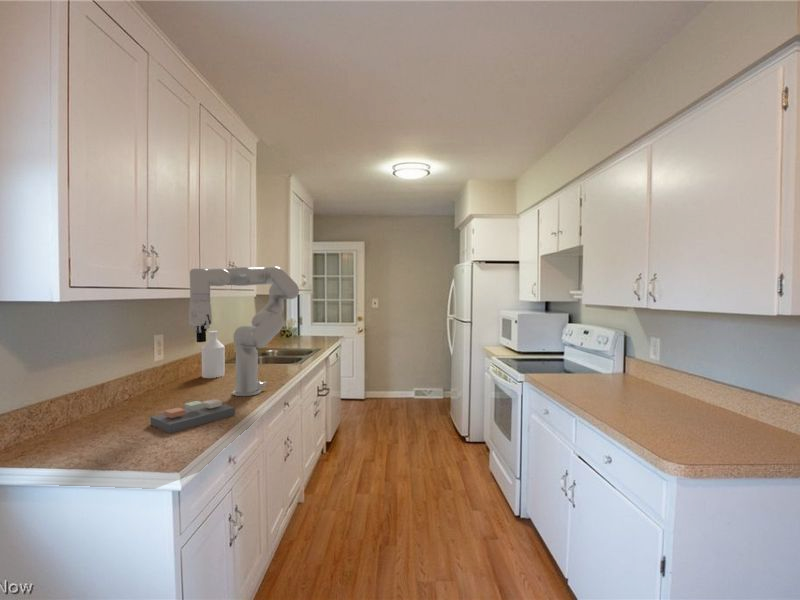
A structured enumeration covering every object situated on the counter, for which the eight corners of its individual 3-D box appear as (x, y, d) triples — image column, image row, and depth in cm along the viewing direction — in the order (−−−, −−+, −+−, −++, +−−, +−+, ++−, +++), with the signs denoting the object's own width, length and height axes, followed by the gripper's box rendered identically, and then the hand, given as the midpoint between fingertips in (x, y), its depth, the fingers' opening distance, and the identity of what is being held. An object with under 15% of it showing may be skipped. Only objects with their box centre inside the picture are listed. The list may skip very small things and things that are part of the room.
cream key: (214, 403, 157) (214, 398, 156) (221, 405, 154) (221, 401, 154) (203, 406, 153) (202, 401, 153) (209, 408, 150) (209, 403, 150)
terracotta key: (178, 412, 145) (178, 407, 145) (184, 414, 142) (184, 409, 142) (164, 415, 141) (164, 410, 141) (170, 418, 138) (170, 413, 138)
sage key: (197, 405, 151) (197, 400, 151) (204, 407, 148) (204, 402, 148) (184, 408, 147) (184, 403, 147) (191, 410, 144) (191, 405, 144)
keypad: (214, 408, 161) (214, 401, 161) (234, 415, 153) (234, 407, 153) (150, 425, 142) (150, 416, 142) (169, 433, 134) (169, 424, 134)
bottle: (197, 376, 222) (197, 331, 221) (218, 372, 231) (218, 329, 230) (207, 379, 214) (207, 332, 213) (228, 375, 223) (228, 331, 222)
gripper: (181, 298, 167) (182, 341, 167) (201, 298, 159) (202, 344, 159) (199, 297, 173) (200, 339, 174) (219, 298, 165) (220, 342, 166)
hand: (201, 341), depth 166 cm, fingers closed
